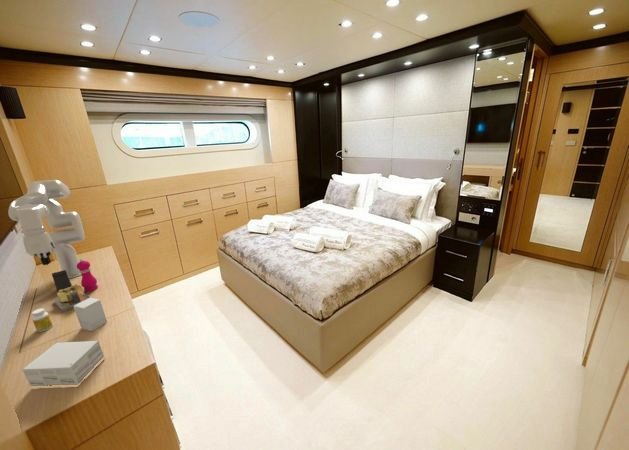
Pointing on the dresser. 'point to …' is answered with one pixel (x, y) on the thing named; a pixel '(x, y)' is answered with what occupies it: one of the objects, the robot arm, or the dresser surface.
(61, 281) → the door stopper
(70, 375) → the supplement box
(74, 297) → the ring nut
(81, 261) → the pepper mill
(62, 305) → the flange base
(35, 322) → the supplement bottle
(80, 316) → the supplement box
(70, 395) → the dresser surface
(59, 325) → the dresser surface
